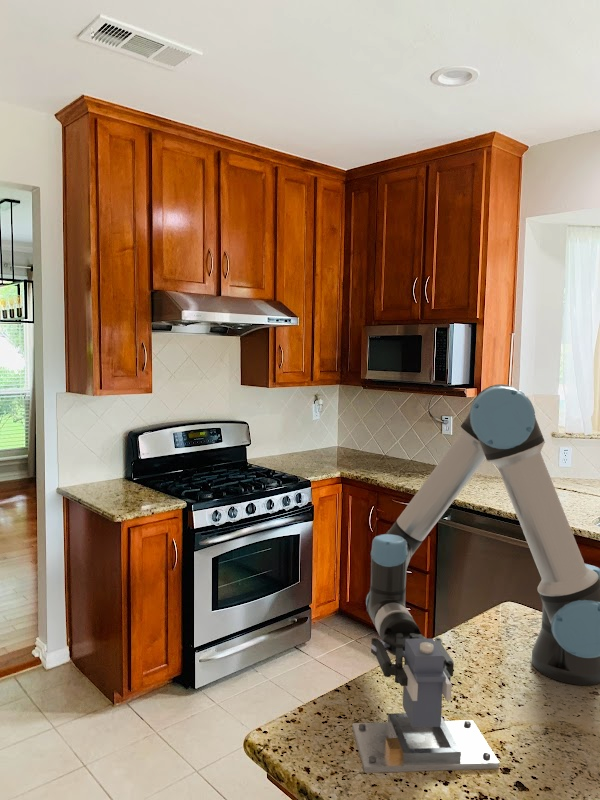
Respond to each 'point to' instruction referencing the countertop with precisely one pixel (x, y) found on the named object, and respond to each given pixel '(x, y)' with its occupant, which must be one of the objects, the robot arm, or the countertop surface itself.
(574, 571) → the robot arm
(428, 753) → the chassis
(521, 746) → the countertop surface
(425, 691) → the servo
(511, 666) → the countertop surface
